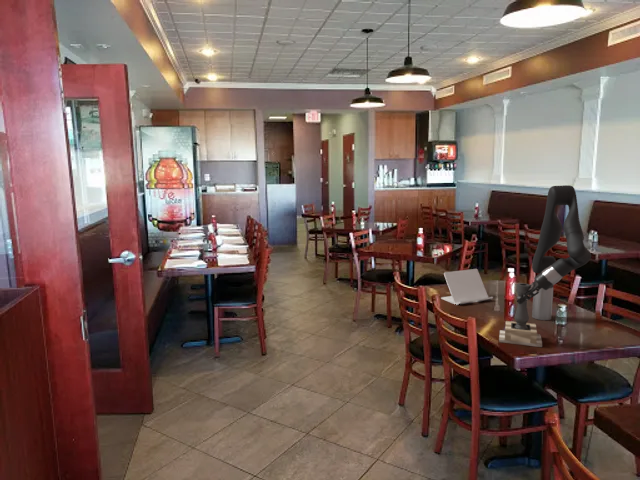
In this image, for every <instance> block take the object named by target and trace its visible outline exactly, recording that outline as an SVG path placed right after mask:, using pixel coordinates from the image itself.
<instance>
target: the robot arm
mask: <svg viewBox="0 0 640 480" xmlns="http://www.w3.org/2000/svg"><path fill="white" fill-rule="evenodd" d="M558 206H568V213H567V215H566V217H565V220H564V222H563V225H562V223H561V221H560V219H559V217H558V215H557V213H556V207H558ZM578 206H579V205H578V199H577V193H576V190H575V187H573V186H572V185H569V184H567V185H553V186H551V187H550V188H549V189H548V192H547V196H546V203H545V211H544V217H543V220H542V221H543V222H542V224H541V228H540V233H539V237H538V242H537V246H536V250H535V252H534V255H533V258H532V261H531V262H532V263H531V270H532V272H533V273H535V274H537V275H536V276H535V277H534V278H533V279H534V281H533V282H532V283H531V284H529V285H530V288H529V289H528V290H527V291H526V293H525V294H524V295H523V296H522V297H521V298H519V299H516V302H517V304H518V303H519V304H522V303H523V302H524V301H525V300H526V299H527V300H528V301H529V300H531V299H532V311H531V312H532V313H531V314H532V315H531V317H532V318H533V319H534V320H535V319H536V320H539V321H549V320H550V321H551V320H552V311H553V299H554V286H555V284H557V283H558V282H560V281H561V279H562V278H564V277H566V276H568V274H569V273H570V272H572V271H574V270H577V269H579V268H581V267H583V266H584V265H586V264H588V263H589V261H590V260H591V258H592V253H591V251H590V250H589V249H588V248H587V247H586V246H585V244H584V240H585V234H584V232H583V228H582V225H581V223H580V222H581V221H580V217H579V207H578ZM562 231H563V232H564V235H565V240H566V249H567V253H568V256H569V257H567V258H563V257H561V258H559V259H557V260H556V257H554V256H551V255H546V254H547V252H548V251H549V250H550V249H551V248H553V247H554V246H555V245H556V244H558V242H559V241H560V239H561V235H562Z"/></svg>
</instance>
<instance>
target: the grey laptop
mask: <svg viewBox="0 0 640 480" xmlns="http://www.w3.org/2000/svg"><path fill="white" fill-rule="evenodd" d="M443 275H444V278H445V279H444V280H445V281H446V282H445V283H446V284H447V287H448V289H449V290H448V291H449V293H450V295H449V296H441V297H440V299H441V300H444V301H446V302H448V303H450V304H452V305H453V304H454V305H455V304H456V305H455V306H458V305H459V304H460V305H466V304H472V303H479V302H483V301H484V302H485V301H491V300H492V299H494V296H489V295H488V293H487V290H486V288H485V287H486V286H485V285H484V283H483V280H482V277H481V274H480V273H479V269H477V268H473V269H472V268H471V269H464V270H463V269H462V270H461V269H460V270H455V271H445V272H444V273H443Z"/></svg>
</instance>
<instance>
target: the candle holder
mask: <svg viewBox="0 0 640 480" xmlns="http://www.w3.org/2000/svg"><path fill="white" fill-rule="evenodd" d="M529 288H530V284H529V283H524V282H520V283H516V289H515V290H516V294H517V296H516V300H518V299H519V298H521V297H522V296H523V295H524V294H525V293H526V291H527V290H528V289H529ZM528 301H529V300H527V299H526V300H525V301H524V302H523V303H522V304H519V303H518V302H517V307H516V311H515V314H514V320H515V322H516V323H517V324H516V325H515V329H523V330H527V329H528V327H527V326H526V324H527V323H529V322H528V321H529V319H530V317H529V316H530V315H529V311H528V308H527V307H528Z"/></svg>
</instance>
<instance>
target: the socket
mask: <svg viewBox="0 0 640 480" xmlns="http://www.w3.org/2000/svg"><path fill="white" fill-rule="evenodd" d="M516 324H517V323H516V321H509V320H505V328H504V330H501V329H500V330H499V336H498V337H499V338H498V343H502V344H503V343H504V344H505V343H506V344H512V345H520V346H527V347H529V346H530V347H538V348H543V341H542V336H541V335H542V334H539V333H538V331H537V325H536V323H530V322H527V324H526V326H527V327H528V329H527V330H523V329H515V325H516Z"/></svg>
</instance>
